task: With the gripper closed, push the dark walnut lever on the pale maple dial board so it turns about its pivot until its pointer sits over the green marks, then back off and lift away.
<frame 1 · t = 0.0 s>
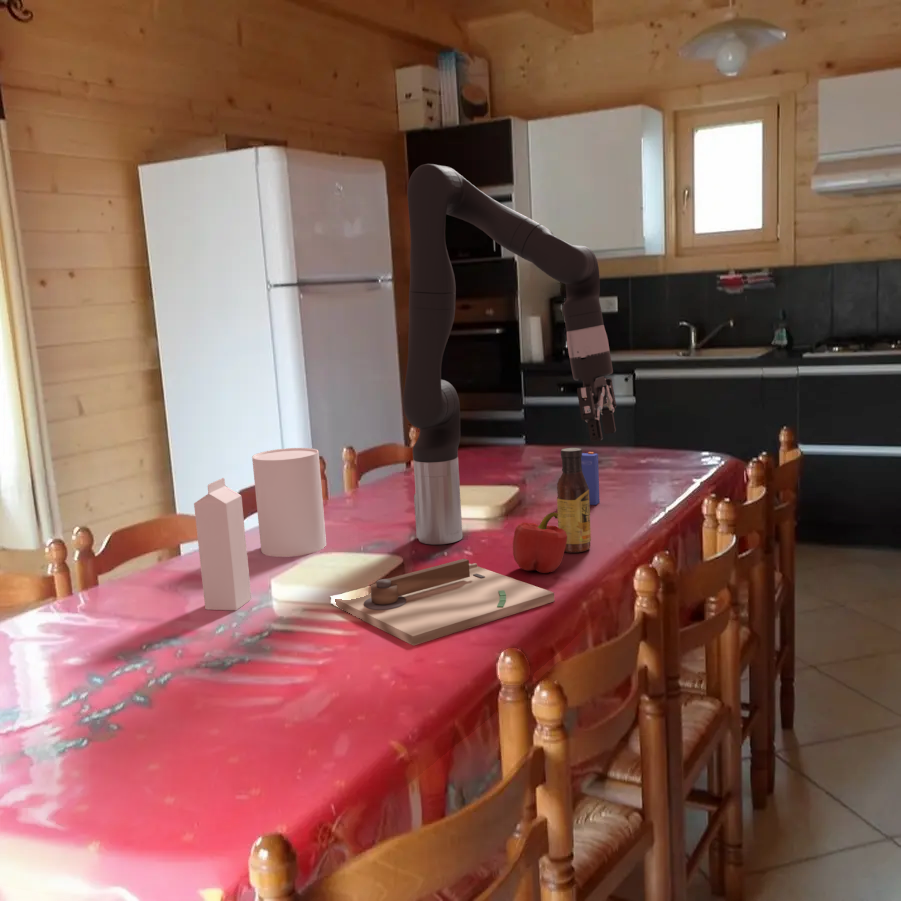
hand: (603, 437, 184), 22 cm above the table, tool pointing down, fingers open, 8 cm apart
vegetable: (541, 570, 179), on the table
sauce bottle: (575, 550, 190), on the table
dial lever: (426, 579, 165), point 4 cm above the table, hinge at 0.0°
milk: (228, 605, 170), on the table
canister: (294, 548, 204), on the table
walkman: (582, 504, 227), on the table
dial board: (440, 602, 164), on the table
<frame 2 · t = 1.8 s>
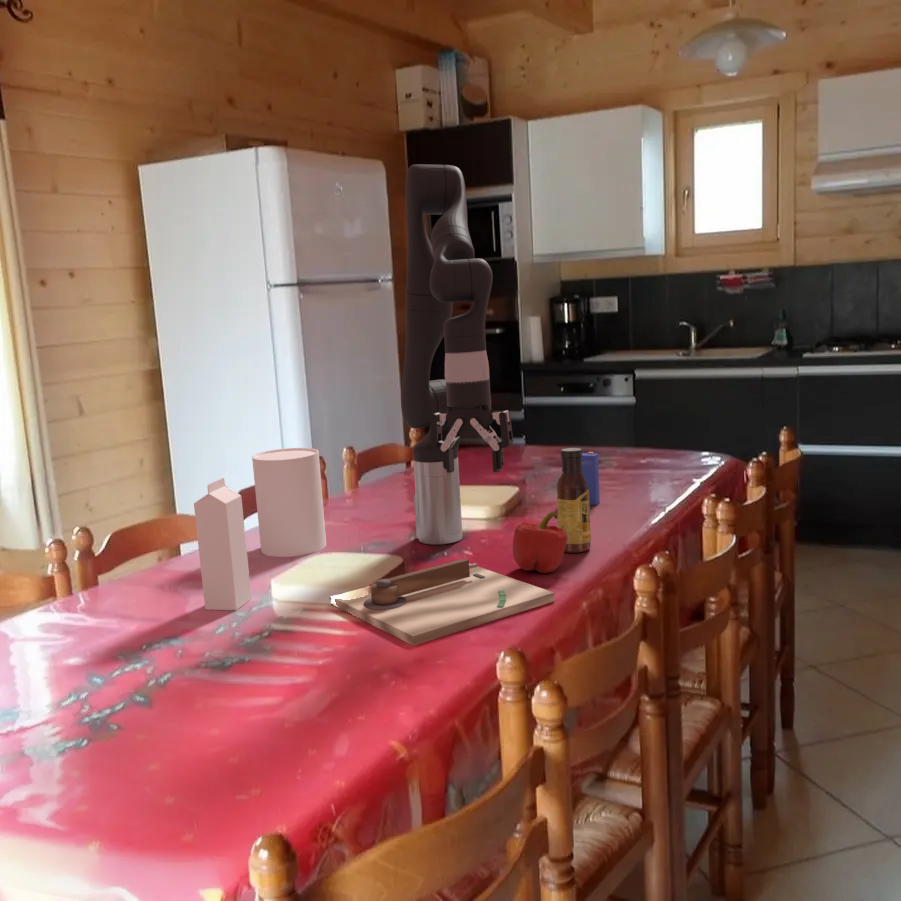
hand: (473, 471, 168), 20 cm above the table, tool pointing down, fingers open, 8 cm apart
nothing on the table moved.
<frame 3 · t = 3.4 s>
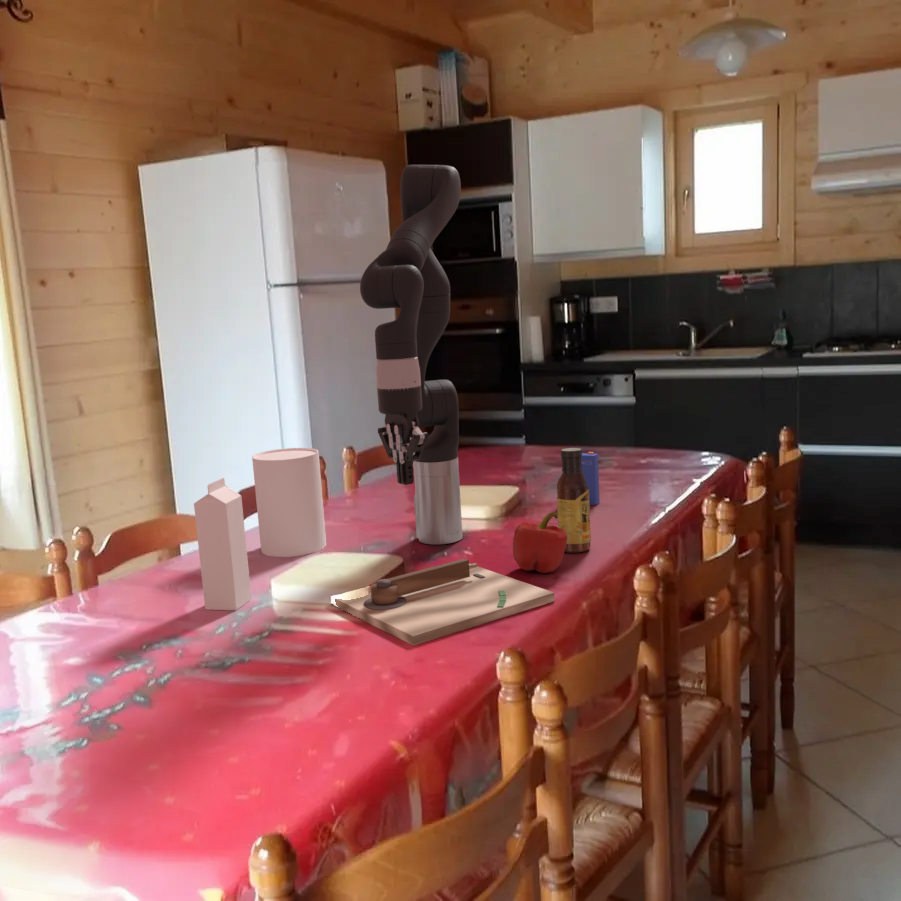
hand: (405, 483, 169), 19 cm above the table, tool pointing down, fingers closed
nothing on the table moved.
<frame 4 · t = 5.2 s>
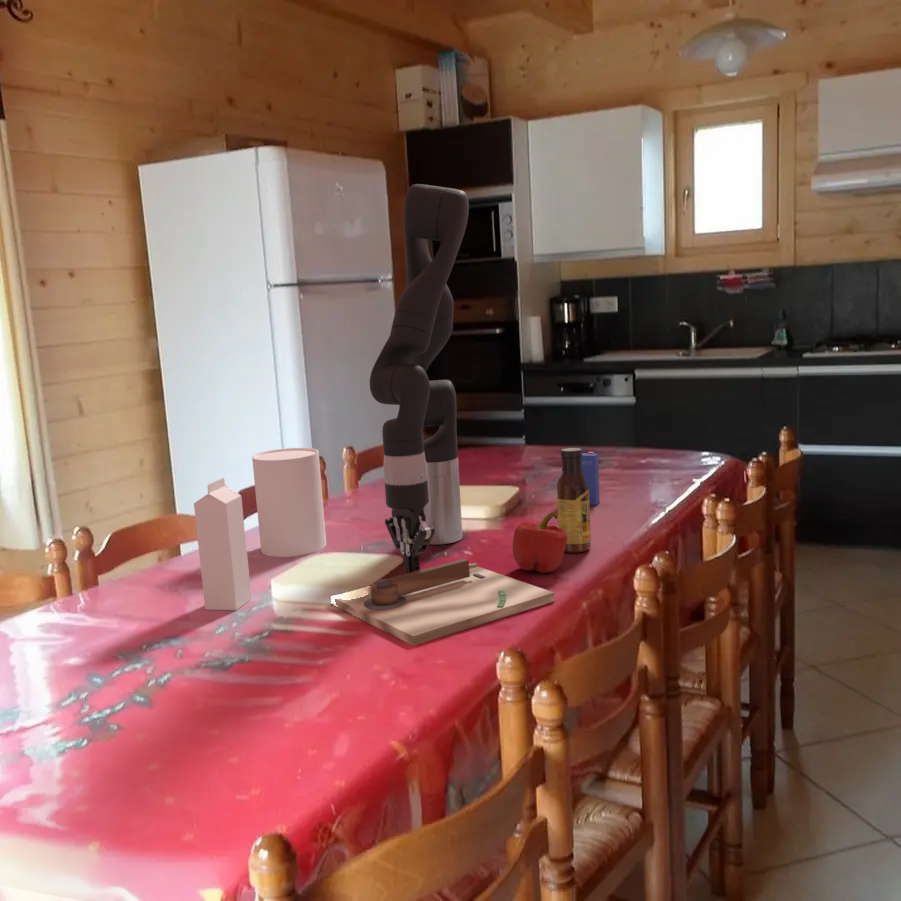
hand: (412, 574, 172), 3 cm above the table, tool pointing down, fingers closed
nothing on the table moved.
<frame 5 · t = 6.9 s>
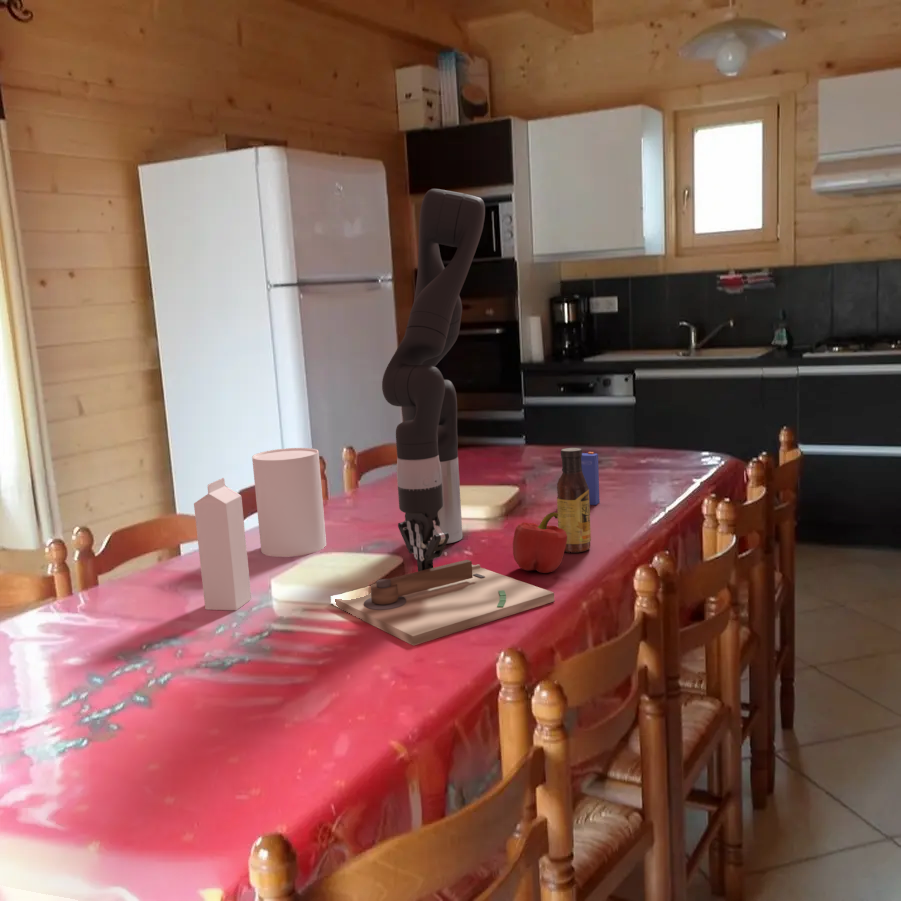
hand: (426, 579, 168), 3 cm above the table, tool pointing down, fingers closed
dial lever: (427, 579, 165), point 4 cm above the table, hinge at -3.0°, touching gripper
everything else where it was.
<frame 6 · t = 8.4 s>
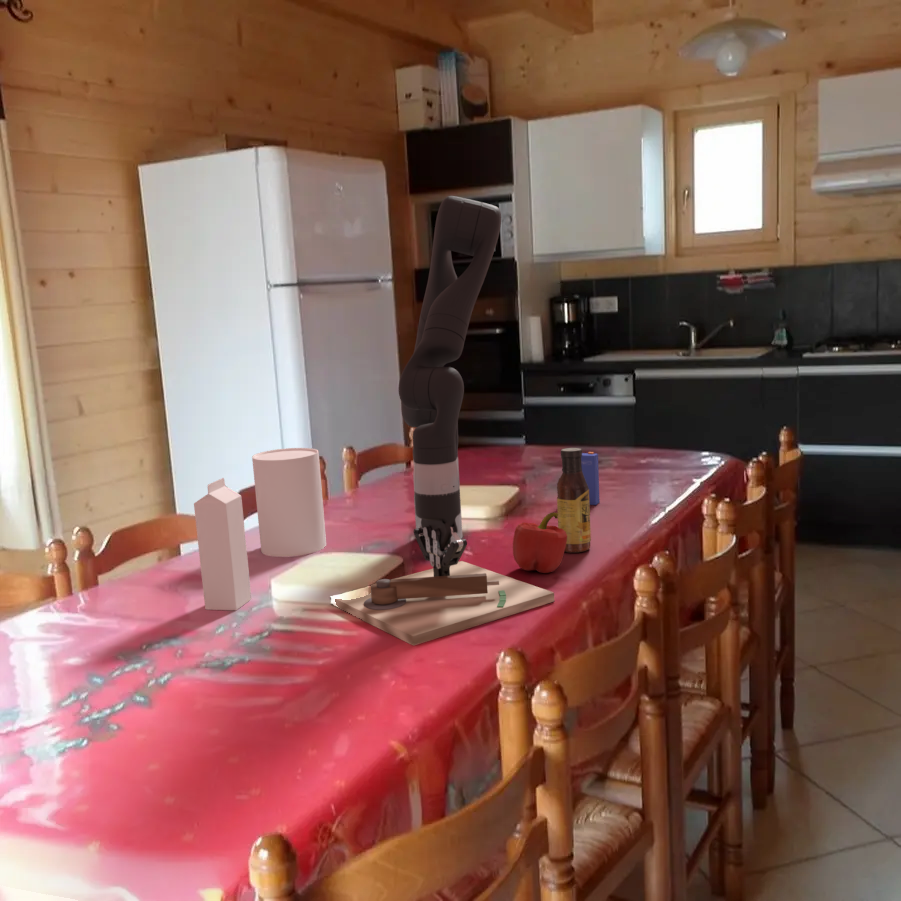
hand: (442, 587, 164), 3 cm above the table, tool pointing down, fingers closed
dial lever: (434, 587, 161), point 4 cm above the table, hinge at -33.8°, touching gripper
everything else where it was.
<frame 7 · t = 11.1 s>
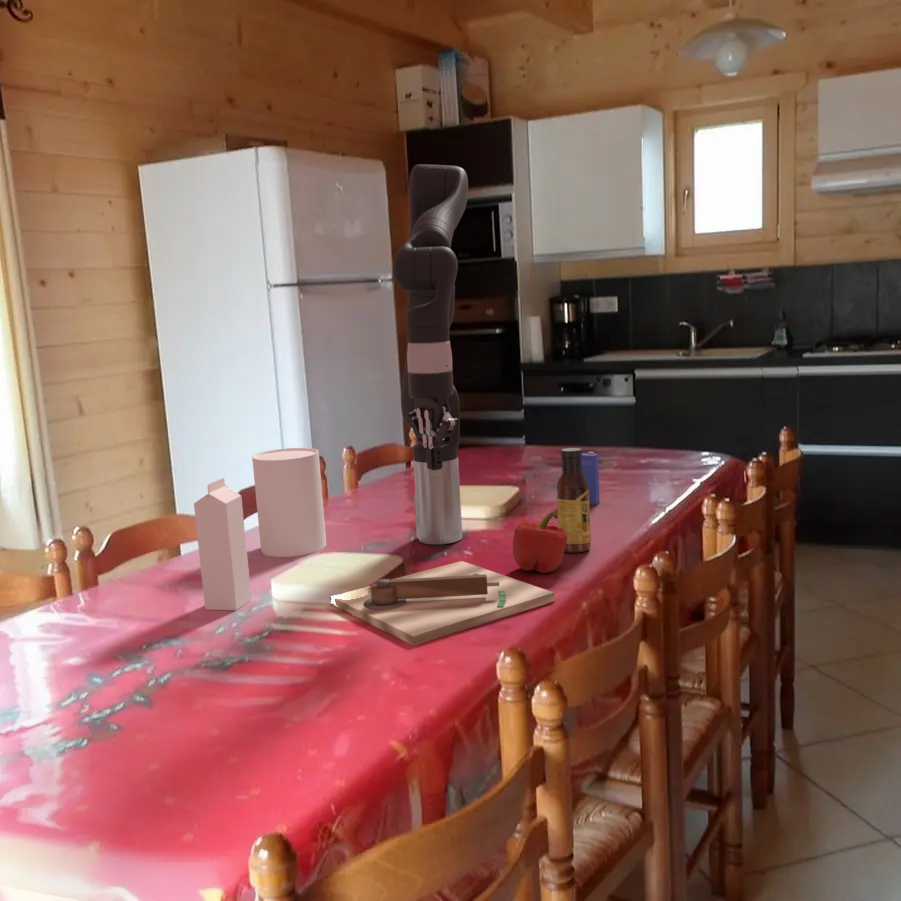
hand: (434, 469, 167), 22 cm above the table, tool pointing down, fingers closed
dial lever: (434, 587, 161), point 4 cm above the table, hinge at -35.6°
everything else where it was.
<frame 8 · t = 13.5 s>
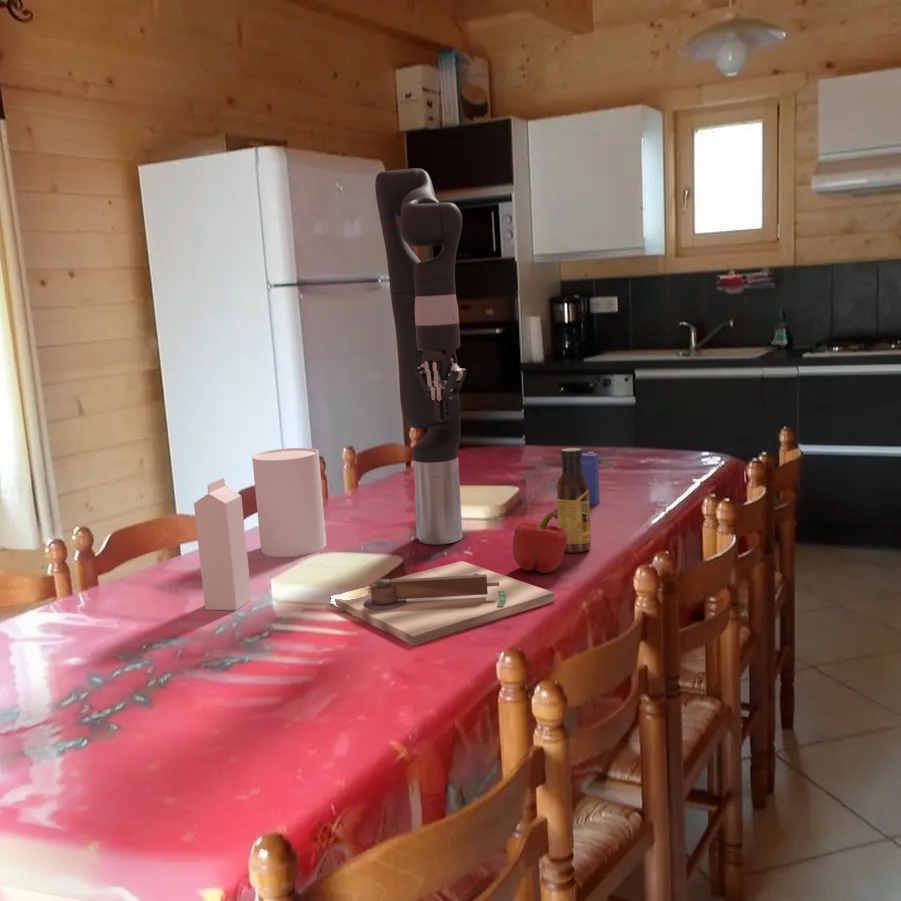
hand: (443, 420, 171), 29 cm above the table, tool pointing down, fingers closed
nothing on the table moved.
at the end: dial lever at -36° (first picture: +0°) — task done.
